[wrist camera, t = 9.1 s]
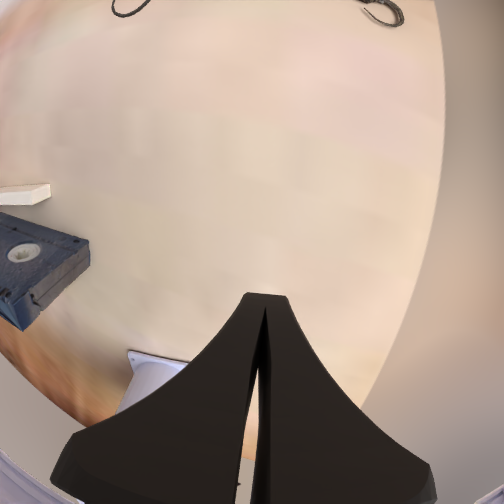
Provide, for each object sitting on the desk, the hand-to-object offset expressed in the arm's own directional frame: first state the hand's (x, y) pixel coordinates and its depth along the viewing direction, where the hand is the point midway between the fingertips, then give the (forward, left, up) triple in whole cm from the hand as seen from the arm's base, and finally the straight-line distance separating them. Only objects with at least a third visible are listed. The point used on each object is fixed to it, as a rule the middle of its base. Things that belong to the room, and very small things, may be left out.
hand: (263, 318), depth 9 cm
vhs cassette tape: (-3, +24, -11) cm, 26 cm away
